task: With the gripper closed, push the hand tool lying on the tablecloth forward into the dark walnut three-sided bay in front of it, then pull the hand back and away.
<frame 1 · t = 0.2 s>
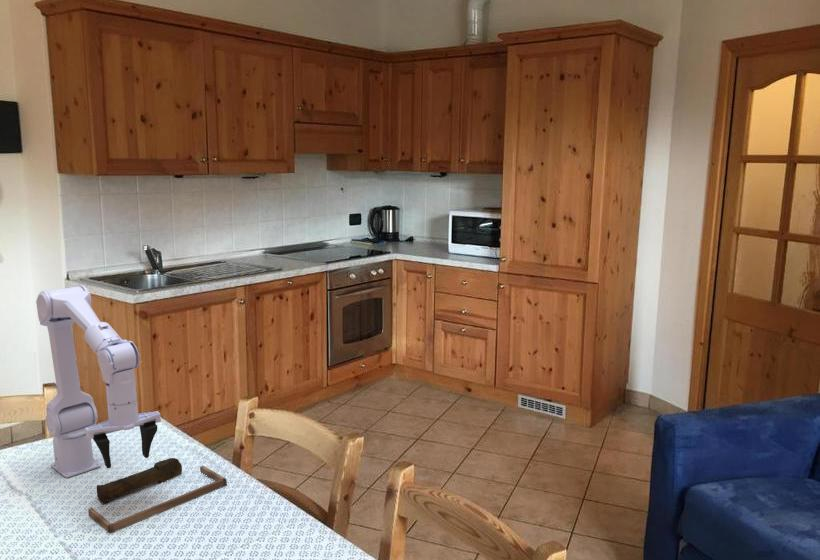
hand: (127, 461, 144), 10 cm above the table, tool pointing down, fingers open, 7 cm apart
tool bay: (160, 499, 148), on the table
hand tool: (141, 488, 154), on the table
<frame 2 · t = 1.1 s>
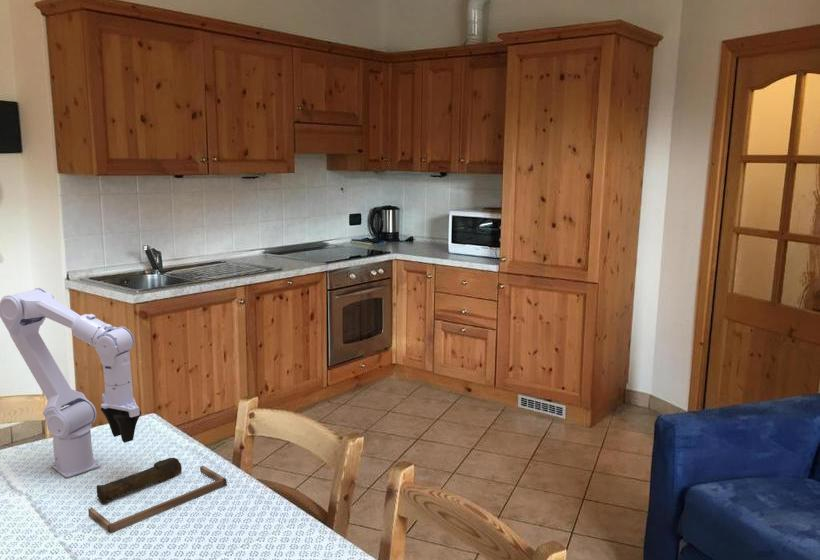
hand: (123, 438, 156), 9 cm above the table, tool pointing down, fingers open, 4 cm apart
nothing on the table moved.
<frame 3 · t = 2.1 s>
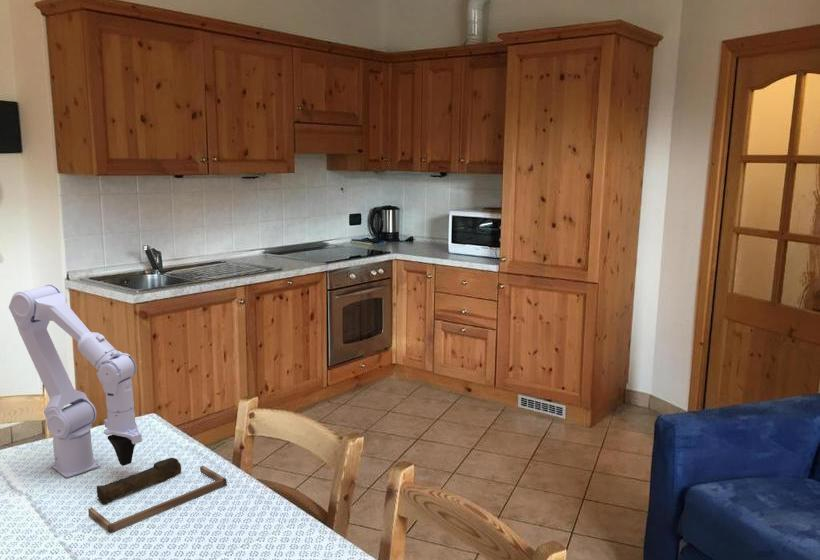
hand: (125, 463, 158), 3 cm above the table, tool pointing down, fingers closed
nothing on the table moved.
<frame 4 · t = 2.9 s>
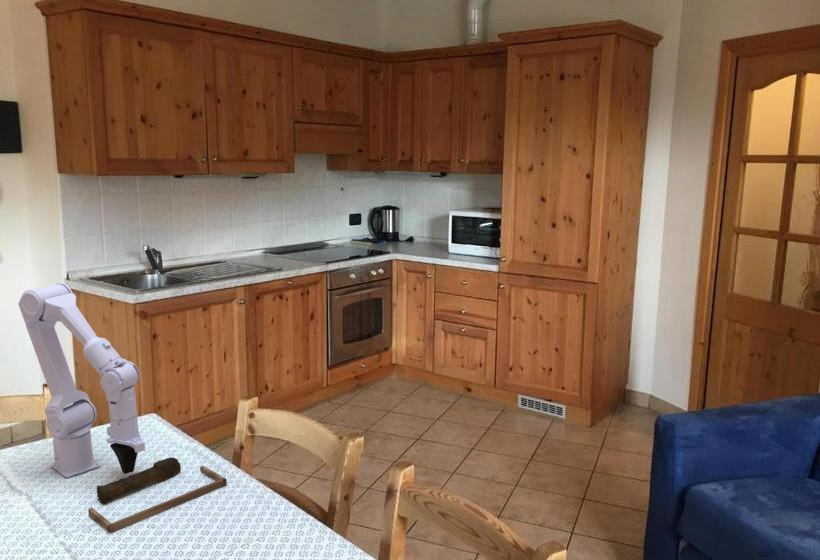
hand: (128, 471, 157), 1 cm above the table, tool pointing down, fingers closed
nothing on the table moved.
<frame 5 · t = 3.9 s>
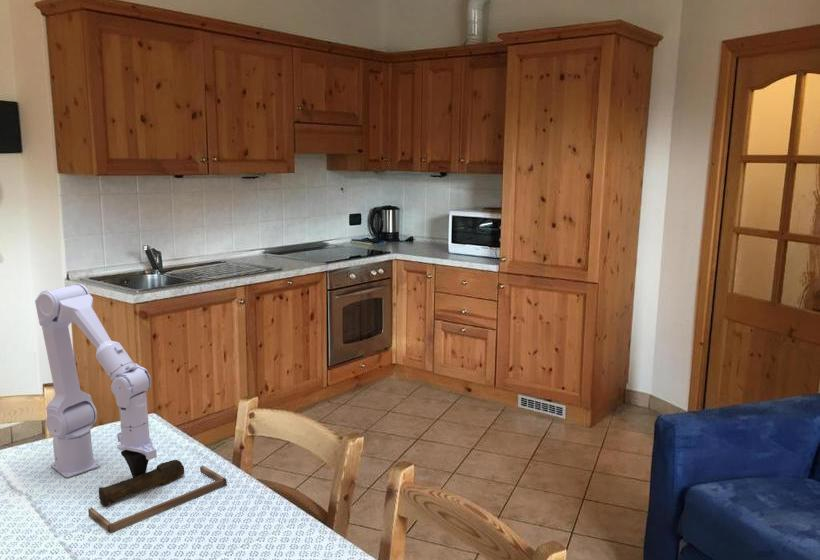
hand: (139, 479, 154), 1 cm above the table, tool pointing down, fingers closed
hand tool: (143, 490, 152), on the table, touching gripper
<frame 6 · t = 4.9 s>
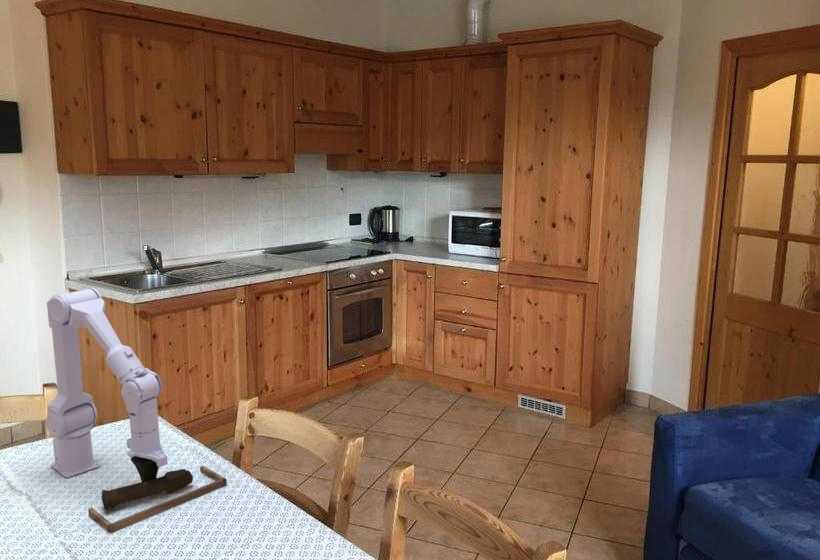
hand: (149, 486, 151), 1 cm above the table, tool pointing down, fingers closed
hand tool: (147, 494, 149), on the table, touching gripper
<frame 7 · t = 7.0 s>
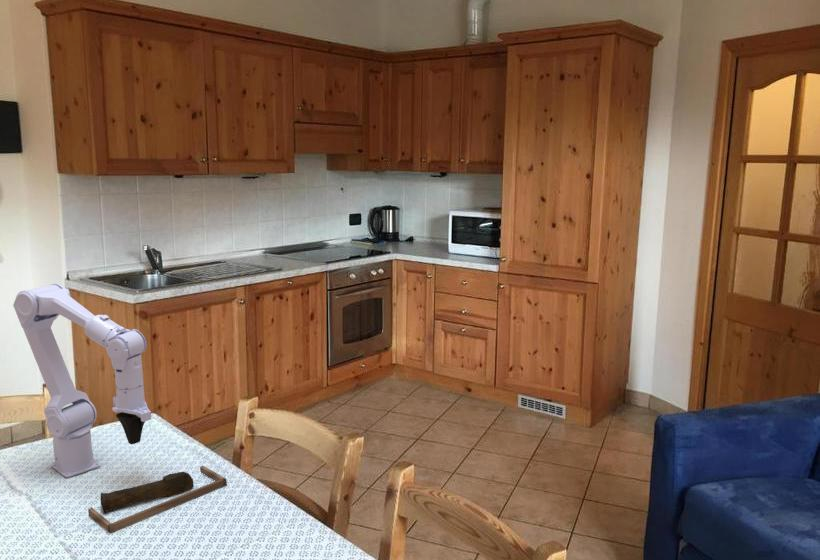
hand: (134, 442, 154), 9 cm above the table, tool pointing down, fingers closed
hand tool: (148, 500, 148), on the table
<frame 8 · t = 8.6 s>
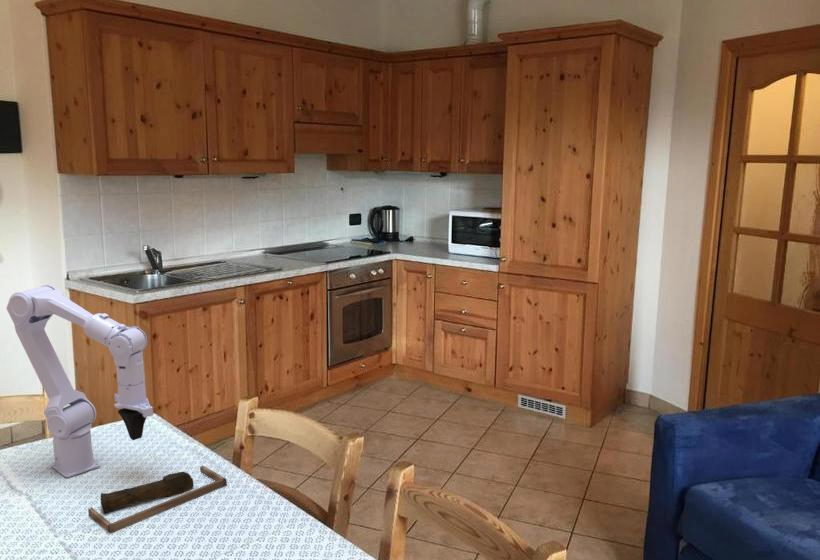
hand: (136, 438, 156), 9 cm above the table, tool pointing down, fingers closed
nothing on the table moved.
at the end: hand tool inside the target area on the tool bay (3.0 cm from its centre), point 0.0 cm above the tool bay's base; hand tool moved 6.4 cm from its start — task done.
